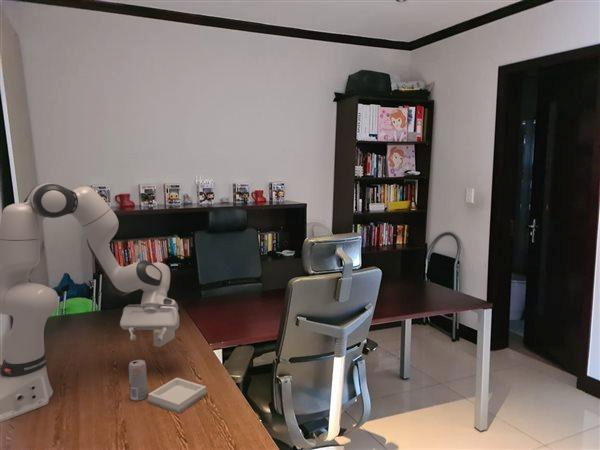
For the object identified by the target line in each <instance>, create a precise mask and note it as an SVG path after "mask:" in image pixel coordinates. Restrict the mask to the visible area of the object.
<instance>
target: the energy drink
mask: <svg viewBox="0 0 600 450" xmlns="http://www.w3.org/2000/svg"><path fill="white" fill-rule="evenodd" d="M147 378H148V377H147V363H146V361H145V360H144V359H134V360H131V361H130V362H129V363H128V381H129V383H128V384H129V398H130V400H131V401H134V402H138V401H142V400H145V399H146V398H147V397H148V383H147V381H148V380H147Z"/></svg>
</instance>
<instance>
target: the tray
mask: <svg viewBox="0 0 600 450" xmlns="http://www.w3.org/2000/svg"><path fill="white" fill-rule="evenodd" d="M206 396H207V386H206V385H202V384H200V383H199V384H198V383H197V382H196V383H195V382H192V381H191V380H190V381H189V380H186V379H183V378H181V377H175V378H173V379H172V380H170V381H168V382H166V383H165V384H163V385H161V386H160V387H158V388H156V389H155V390H153V391H151V392H149V393H147V400H148V404H151V405H153V406H157V407H159V408H162V409H165V410H168V411H171V412H173V413H176V414H181V413H182V412H184V411H185V410H186V409H188V408H189V407H191V406H193V405H194V404H195V403H197V402H198V401H199V400H201V399H202V398H204V397H206Z"/></svg>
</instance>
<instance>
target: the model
mask: <svg viewBox="0 0 600 450" xmlns="http://www.w3.org/2000/svg"><path fill="white" fill-rule="evenodd" d="M162 332H163V330H153V332H152V333H153V346H154V347H157V348H162V347H163V346H164V345H166V344H168V343H169V342H171V341H172V340H174V339H176V330H168V332H167V333H166V335H165V336H164V337H163V341H158V335H161V333H162Z"/></svg>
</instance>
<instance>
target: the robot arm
mask: <svg viewBox="0 0 600 450" xmlns="http://www.w3.org/2000/svg"><path fill="white" fill-rule="evenodd" d="M67 215H72V216H73V217H74V219H75V220H76V221H77V222H78V224H79V225H80V226H81V228H82V229H83V230H84V232H85V235H86V237H87V239H86V242H87V246H88V248H89V251H90V252H91V254H92V256H93V257H94V259H95V261H96V263H97V264H98V266H99V268H100V269H101V271H102V273H103V274H104V276H105V279H106V281H107V284H108V286H109V288H110V290H111V291H112V292H113V293H115V294H116V295H118V296H123V297H124V296H126V295H128V294H130V293H133V292H134V291H135V292H136V291H138V290H141V291H143V293H142V296H141V301H140V303H136V304H132V303H131V304H127V305H125V307H123V310H122V315H121V318H120V321H119V326H120V327H121V328H122V329H123V330H128V331H129V333H130V337H129V340H130V342H135V341H137V334H134V333H135V330H138V331H139V330H140V331H141V330H143V331H144V330H153V331H154V330H163V332H162V333H161V335H158V341H163V337H164V336H165V335H166V333H167V332H168V330H175V331H176V330H177V329H178V328H179V327H180V314H179V312H178V311H179V306H178V303H177V301H175V299H172V298H169V297H168V292H169V289H170V284H171V270H170V267H169V266H168V265H167V264H166V263H163V262H159V261H156V262H151V261H149V260H146V259H143V260H139V261H136V262H134V263H133V262H132V263H131V264H128V265H126V266H121V265H120V264H119V263H118V261H117V259H116V258H115V256H114V255H113V253H112V251H111V249H110V242H111V241H112V240H113V238H115V237H114V236H115V235H116V234H117V232H118V230H119V219H118V217H117V215H116V213H115V212H114V210H113V209H112V208H111V207H110V205H109V204H108V203H107V202H106V200H105V199H104V198H103V197H102V196H101V195H100V194H99V193H98V192H97V191H96V190H95V189H94V188H92V187H90V186H88V185H87V186H80V187H77V188H75V189H73V190H71V189H70V188H67V187H65V186H63V185H60V184H58V183H55V182H43V183H39V184H38V185H35V186H34V187H33V188H32V189H31V191H30V192H29V194H28V195H27V197H26V198H25V199H24V201H23V202H17V203H12V204H9V205H7V206H6V207H4V209H3V210H2V214H1V218H0V315H6V316H11V317H12V320H13V321H12V325H11V328H10V329H9V330H8V331H7V332H6V333H5V334H4V335H3V338H2V342H3V353H4V354H3V355H4V359H3V362H2V364H0V423H3V422H5V421H7V420H10V419H12V418H16V417H18V416H20V415H23V414H26V413H28V412H31V411H34V410H36V409H38V408H42V407H43V406H46V405H48V404H49V401H50V399H51V397H52V396H53V394H54V390H53V388H52V385H51V383H50V380H49V376H48V372H47V371H48V370H47V364H48V359H47V353H46V351H45V339H44V337H45V336H44V333H45V326H46V322H47V320H48V318H50V317H51V316H52V315H53V314H54V313H55V312H56V310H57V308H58V306H59V299H60V298H59V295H58V293H57V291H56V290H55V289H53V288H51V287H50V286H47V285H44V284H42V283H36V282H30V281H29V279H30V275H31V273H32V271H33V269H34V268H36V267H37V266H38V265H39V264H40V263H41V227H42V226H41V225H42V223H43V221H44V219H46V218H50V219H55V218H56V219H57V218H62V217H63V216H64V217H65V216H67Z"/></svg>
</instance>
